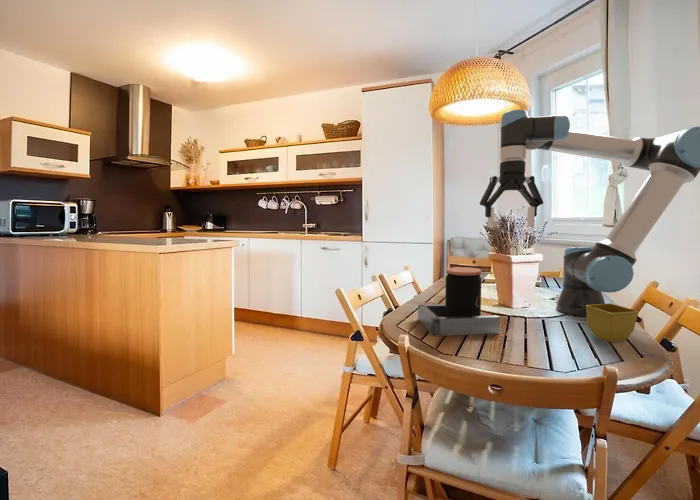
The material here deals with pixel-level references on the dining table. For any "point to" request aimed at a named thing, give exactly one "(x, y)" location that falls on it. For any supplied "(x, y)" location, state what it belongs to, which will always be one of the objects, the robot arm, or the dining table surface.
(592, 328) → the flower pot
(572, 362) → the dining table surface
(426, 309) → the channel
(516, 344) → the dining table surface
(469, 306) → the coffee jar
